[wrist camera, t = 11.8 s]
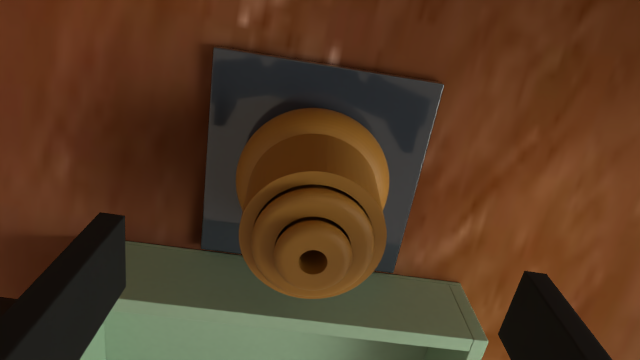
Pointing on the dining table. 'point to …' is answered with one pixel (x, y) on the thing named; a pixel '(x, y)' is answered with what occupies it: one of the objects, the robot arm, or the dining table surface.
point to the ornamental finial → (312, 203)
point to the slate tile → (312, 92)
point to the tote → (277, 315)
